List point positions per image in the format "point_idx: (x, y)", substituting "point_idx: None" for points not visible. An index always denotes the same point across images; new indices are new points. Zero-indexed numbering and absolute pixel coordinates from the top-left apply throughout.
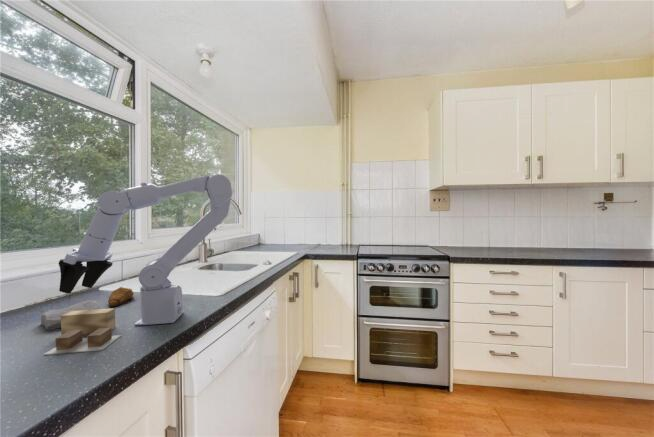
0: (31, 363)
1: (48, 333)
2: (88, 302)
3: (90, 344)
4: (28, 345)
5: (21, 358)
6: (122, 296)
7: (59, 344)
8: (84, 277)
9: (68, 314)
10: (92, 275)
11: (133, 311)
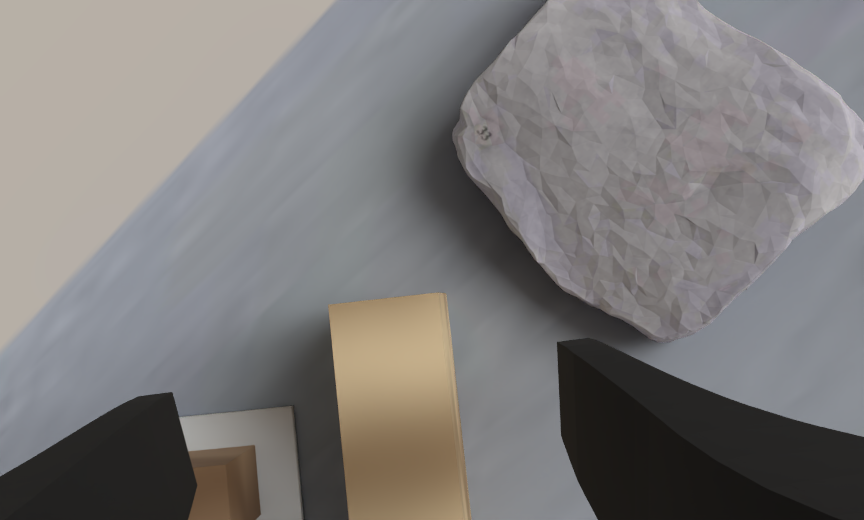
0: (34, 437)
1: (408, 180)
2: (777, 177)
3: None
4: (245, 218)
5: (93, 331)
6: None
7: None
8: (605, 384)
9: (353, 346)
10: (640, 518)
11: None
